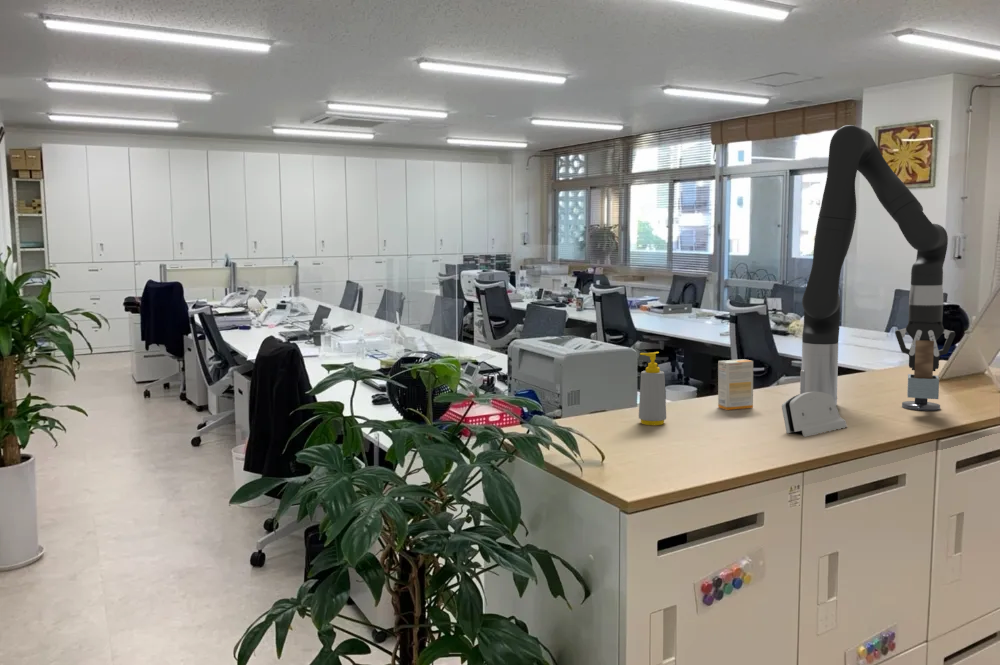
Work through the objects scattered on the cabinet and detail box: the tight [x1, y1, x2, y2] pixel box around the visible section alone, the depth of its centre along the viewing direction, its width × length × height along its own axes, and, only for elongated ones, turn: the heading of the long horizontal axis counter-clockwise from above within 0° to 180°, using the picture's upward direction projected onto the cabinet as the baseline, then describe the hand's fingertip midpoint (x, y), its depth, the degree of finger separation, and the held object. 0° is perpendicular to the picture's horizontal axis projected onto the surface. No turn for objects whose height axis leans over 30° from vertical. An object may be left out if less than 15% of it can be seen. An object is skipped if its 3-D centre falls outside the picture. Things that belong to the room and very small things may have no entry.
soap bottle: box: [638, 351, 667, 426], centre depth 190 cm, size 7×7×18 cm
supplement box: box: [717, 358, 754, 411], centre depth 208 cm, size 8×5×13 cm, turn 105°
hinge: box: [781, 392, 848, 438], centre depth 182 cm, size 17×5×10 cm, turn 122°
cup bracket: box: [901, 373, 941, 412], centre depth 200 cm, size 9×19×14 cm, turn 152°
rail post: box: [913, 340, 934, 379], centre depth 194 cm, size 4×4×12 cm
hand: (923, 370), depth 194 cm, fingers closed on rail post, 4 cm apart
